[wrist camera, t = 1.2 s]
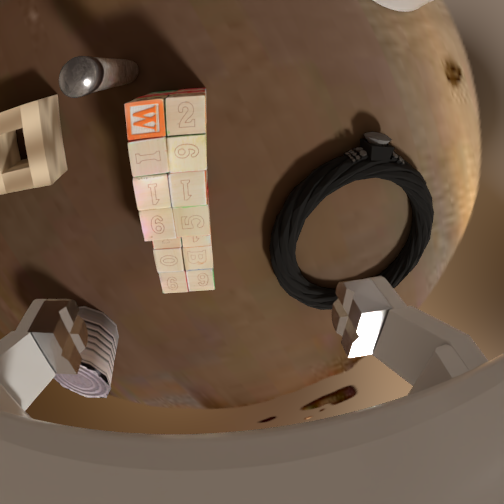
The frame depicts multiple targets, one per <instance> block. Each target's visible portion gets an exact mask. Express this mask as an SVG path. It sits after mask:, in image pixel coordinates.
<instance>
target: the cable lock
mask: <svg viewBox="0 0 504 504" xmlns="http://www.w3.org/2000/svg"><path fill="white" fill-rule="evenodd" d="M363 135H364V136H365V138H366V139H360V148H359V147H357V148H353V151H352V150H349V151H347V152H346V153H344V156H342V157H339V158H335V159H333V160H331V161H329V162H327V163H325V164H324V165H322V166H320V167H319V168H317V169H316V170H314V171H313V172H312V173H311V174H310V175H309V176H308V177H307V178H306V179H305V180H304V181H303V182H301V183H300V184H299V185H298V186H297V187H295V188H294V189H293V191H292V192H291V194H290V195H289V196H288V198H287V200H286V202H285V204H284V206H283V208H282V210H281V211H280V213H279V214H278V216H277V218H276V221H275V224H274V227H273V230H272V234H271V242H270V255H271V263H272V266H273V270H274V273H275V275H276V277H277V279H278V281H279V283H280V285H281V286H282V288H283V289H284V290H285V291H286V292H287V293H288V294H289V295H290V296H291V297H293V298H295V299H297V300H298V301H300V302H302V303H304V304H305V305H307V306H310V307H313V308H317V309H320V310H324V309H332V307H333V303H334V302H335V301H336V300H337V299H338V297H337V295H336V293H335V292H336V289H333V290H332V289H327V288H322V287H319V286H317V285H314V284H312V283H309V282H308V281H307V280H306V279H305V278H304V277H303V275H302V274H301V272H300V270H299V267H298V265H297V261H296V255H295V250H296V242H297V240H298V237H299V235H300V232H301V229H302V227H303V224H304V222H305V219H306V218H307V217H308V216H309V214H310V213H311V212H312V211H313V210H314V209H315V208H316V206H317V205H318V204H319V203H320V202H321V201H322V200H323V199H324V198H325V197H326V196H328V195H329V194H331V193H332V192H334V191H336V190H337V189H339V188H340V187H342V186H344V185H346V184H348V183H351V182H353V181H355V180H361V179H368V178H375V177H376V178H381V179H385V180H390V181H392V182H394V183H396V184H397V185H399V186H401V187H402V188H403V190H404V191H405V192H406V194H407V195H408V197H409V198H410V202H411V206H412V209H413V224H412V228H411V232H410V236H409V239H408V241H407V243H406V245H405V246H404V248H403V250H402V251H401V253H400V255H399V256H398V258H397V259H396V260H395V261H394V262H393V263H392V264H391V265H390V266H389V267H388V268H387V269H386V270H385V271H383V272H382V273H381V274H380V275H379V276H382V277H384V278H385V279H386V280H387V281H388V282H389V284H390V285H391V286H392V287H393V288H395V287H396V286H397V285H398V284H399V283H400V282H401V281H402V280H403V279H404V278H405V277H406V276H407V275H408V273H409V272H410V271H411V270H412V269H413V268H414V267H415V266H416V265H417V263H418V261H419V259H420V258H421V256H422V254H423V252H424V249H425V248H426V246H427V244H428V242H429V240H430V235H431V229H432V223H433V215H434V211H433V207H432V197H431V194H430V192H429V190H428V188H427V186H426V182H425V180H424V179H423V177H422V175H421V174H420V173H419V172H418V171H417V170H415V169H414V168H413V167H412V166H411V165H410V164H409V163H408V162H406V161H405V160H403V159H402V158H401V156H399V155H397V154H396V153H395V152H394V151H393V150H394V147H393V146H391V145H389V144H388V142H390V141H391V140H392V139H391V138H389V137H388V136H387V135H385V134H382V133H377V132H368V133H364V134H363Z"/></svg>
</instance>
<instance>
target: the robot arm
mask: <svg viewBox="0 0 504 504" xmlns="http://www.w3.org/2000/svg"><path fill="white" fill-rule="evenodd" d="M373 1H375V2H376V3H378V4H380V5H382V6H384V7H386V8H389V9H392V10H396V11H413V10H416V9H418V8H420V7H421V6H423V5H425V4H426V3H428V2H431V1H433V0H373ZM335 293H336V295H337V297H338V299H337V300H336V301H335V302H334V303H333V307H332V322H333V326H334V328H335V331H336V332H337V333H338V334H340V335H341V336H343V337H342V341H341V344H342V346H343V348H344V350H345V352H346V354H347V356H348V358H351V357H356V356H362V355H367V354H372V353H373V354H372V355H373V356H375V357H376V358H377V359H379V360H380V361H381V362H383V363H384V364H385V365H386V366H388V367H389V368H390V369H392V370H393V371H394V372H396V373H397V374H398V375H399V376H401V377H402V378H403V379H405V380H406V381H407V382H409V383H410V384H411V385H412V386H413V387H412V389H411V390H410V392H409V393H408V395H407V396H404V397H402V398H399V399H395V400H392V401H390V402H386V403H383V404H379V405H376V406H373V407H369V408H366V409H362V410H358V411H354V412H351V413H346V414H343V415H338V416H334V417H329V418H325V419H320V420H315V421H309V422H304V423H298V424H293V425H287V426H280V427H273V428H266V429H258V430H248V431H238V432H225V433H210V434H139V433H123V432H112V431H102V430H93V429H86V428H78V427H72V426H66V425H60V424H55V423H49V422H45V421H40V420H35V419H32V418H31V417H30V416H29V415H28V414H27V413H26V412H25V410H26V409H27V408H28V407H29V406H30V404H31V403H32V402H33V401H34V400H35V398H36V397H37V396H38V395H39V394H40V393H41V391H42V390H43V389H44V388H45V387H46V386H47V385H48V383H49V382H50V381H51V380H52V379H53V378H54V377H55V375H56V374H72V375H77V374H78V371H79V367H80V364H81V361H82V357H81V355H80V353H81V352H82V351H83V350H84V349H85V348H86V346H87V342H88V330H87V326H86V324H85V321H84V320H83V319H82V318H81V317H80V316H79V315H78V312H79V307H78V305H77V303H76V301H75V300H73V299H35V300H33V302H32V303H31V305H30V307H29V308H28V310H27V312H26V313H25V315H24V317H23V318H22V320H21V322H20V324H19V325H18V327H17V329H16V331H12V332H10V333H9V334H8V335H6V336H5V337H4V338H2V339H1V340H0V504H504V353H503V354H501V355H499V356H498V357H496V358H494V359H492V360H490V361H488V360H487V359H486V357H485V356H484V354H483V353H482V352H481V350H480V349H479V348H478V346H477V345H476V344H475V342H474V341H473V340H472V338H471V337H470V336H469V335H468V334H466V333H464V332H462V331H460V330H458V329H456V328H454V327H452V326H450V325H448V324H446V323H444V322H442V321H440V320H438V319H436V318H434V317H432V316H430V315H428V314H427V313H424V312H423V311H421V310H419V309H417V308H415V307H413V306H407V305H406V304H405V303H404V301H403V300H402V299H401V298H400V296H399V295H398V294H397V292H396V291H395V290H394V289H393V287H392V286H391V285H390V284H389V282H388V281H387V280H386V279H385V278H384V277H382V276H377V277H371V278H367V279H359V280H351V281H342V282H339V283H338V285H337V287H336V292H335ZM55 373H56V374H55Z"/></svg>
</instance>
